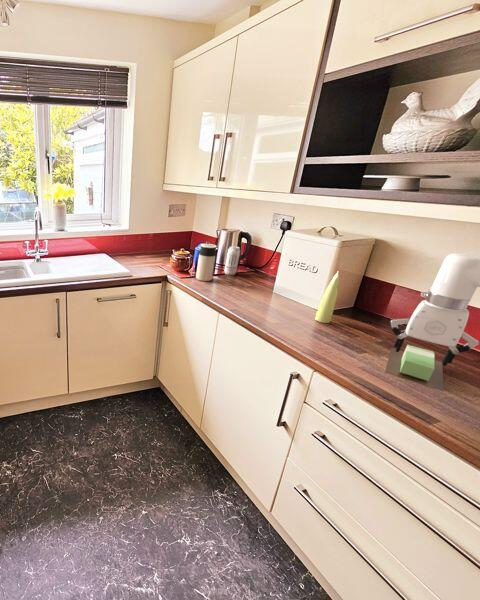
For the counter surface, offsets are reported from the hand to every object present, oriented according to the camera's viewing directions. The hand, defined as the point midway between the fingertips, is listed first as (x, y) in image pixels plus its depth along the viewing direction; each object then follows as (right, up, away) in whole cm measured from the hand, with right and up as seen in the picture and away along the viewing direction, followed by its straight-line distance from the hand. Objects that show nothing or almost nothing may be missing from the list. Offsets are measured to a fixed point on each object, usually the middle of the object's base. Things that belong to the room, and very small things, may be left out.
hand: (419, 356), depth 94 cm
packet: (+3, -4, +5) cm, 7 cm away
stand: (+4, -5, +6) cm, 8 cm away
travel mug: (-31, +27, +82) cm, 92 cm away
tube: (-2, +8, +36) cm, 37 cm away
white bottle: (-13, +30, +91) cm, 97 cm away
